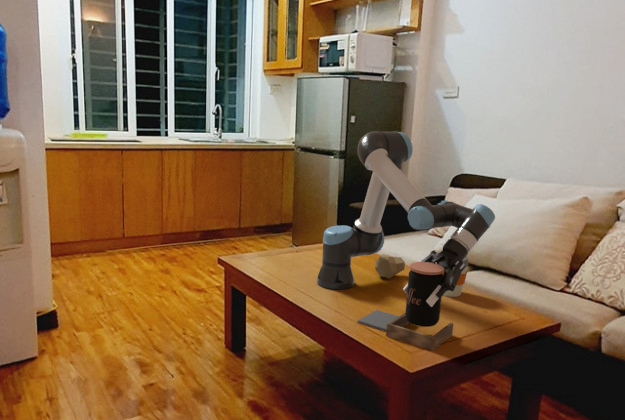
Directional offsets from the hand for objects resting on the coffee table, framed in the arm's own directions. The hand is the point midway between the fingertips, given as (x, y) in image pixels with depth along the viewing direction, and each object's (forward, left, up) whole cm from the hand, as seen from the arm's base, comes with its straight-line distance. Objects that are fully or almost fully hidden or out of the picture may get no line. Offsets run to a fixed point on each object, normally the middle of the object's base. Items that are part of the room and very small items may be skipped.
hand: (416, 297), depth 166 cm
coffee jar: (+1, +3, -8) cm, 9 cm away
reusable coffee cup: (-8, +49, -13) cm, 51 cm away
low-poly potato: (-36, +51, -13) cm, 64 cm away
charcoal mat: (-14, +4, -13) cm, 19 cm away
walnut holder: (+1, +3, -13) cm, 13 cm away
